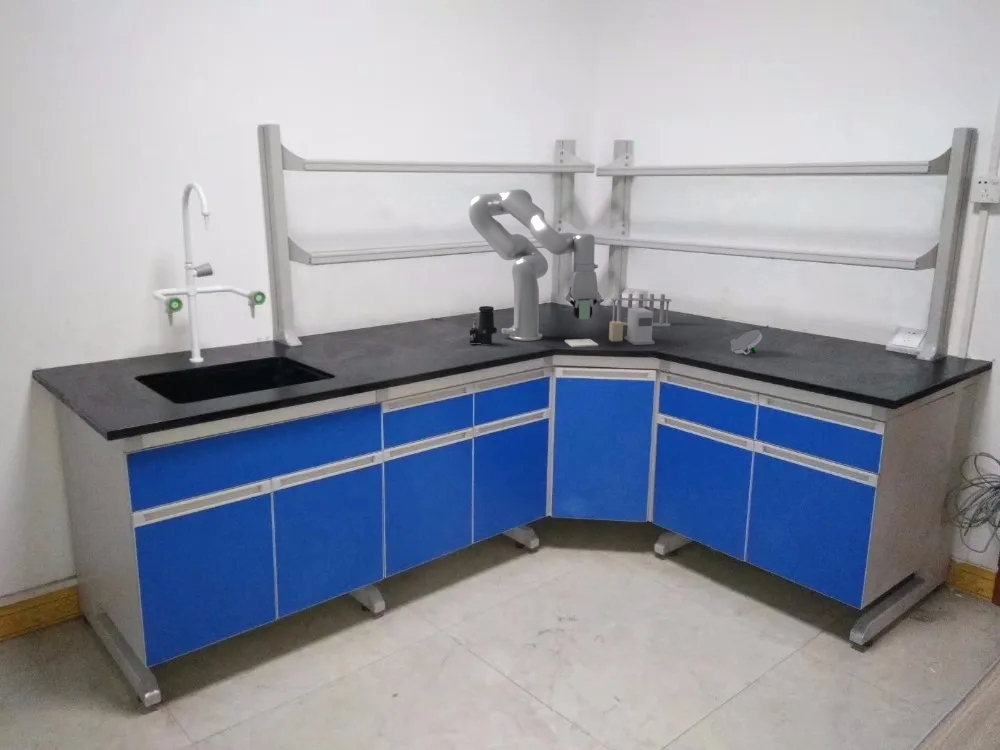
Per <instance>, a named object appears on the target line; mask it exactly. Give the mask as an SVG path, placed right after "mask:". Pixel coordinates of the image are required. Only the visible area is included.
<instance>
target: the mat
mask: <svg viewBox="0 0 1000 750" xmlns="http://www.w3.org/2000/svg"><path fill="white" fill-rule="evenodd" d="M564 342H565V343H566V344H567V345H569V346H570V347H571V348H584V347H585V348H587V347H599V344H598V343H597V342H595V341H594V340H592V339H591V338H583V339H581V338H580V339H579V338H578V339H565V340H564Z"/></svg>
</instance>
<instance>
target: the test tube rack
mask: <svg viewBox="0 0 1000 750" xmlns="http://www.w3.org/2000/svg"><path fill="white" fill-rule="evenodd" d="M633 295H634V294H633V293H628V297H623V293H617V297H610V301H612V303H613V304H612V320H611V321H615V319H616V321H620V322H622V323H623V326H628V316H627V318H626V319H627V321H622V304H623V303H622V301H627V309H628V308H633V302H638V308H644V302H649V305H648V306H649V307H648V310H649V311H651V312H653V313H654V302H660V303H659V317H658V319H659V321H658V322H653V326H652V327H671V323H670V322H669V303H670V302H672V299H671V298H666V294H665V293H661V294H660V298H655V294H654V293H650V294H649V298H644V293H639V295H638V297H633ZM616 302H617V306H616ZM665 302H666V303H665ZM665 304H666V311H665ZM616 307H617V308H616ZM665 312H666V313H665ZM615 315H616V316H615ZM664 316H665V321H664ZM615 317H616V318H615Z"/></svg>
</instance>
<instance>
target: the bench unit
mask: <svg viewBox="0 0 1000 750" xmlns="http://www.w3.org/2000/svg"><path fill="white" fill-rule="evenodd" d="M627 317H628V325H627V331H626V332H627V334H626V335H624V336H623V337H624V338H623V340H626V341H627V342H629V343H631V344H632V345H634V346H636V345H637V346H638V345H641V346H642V345H644V346H645V345H655V343H656V342H655V340H653V339H652V338H653V327H654V326H653V323H654V321H653V320H654V311H653V312H651V311H649V309H647V308H644V307H643V308H639V307H632V308H628V307H627Z"/></svg>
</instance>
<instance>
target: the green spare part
mask: <svg viewBox="0 0 1000 750" xmlns="http://www.w3.org/2000/svg"><path fill="white" fill-rule="evenodd" d="M578 308H579V318H577V319H578V320H590V319H591V318H590V300H589V299H579V304H578Z"/></svg>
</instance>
